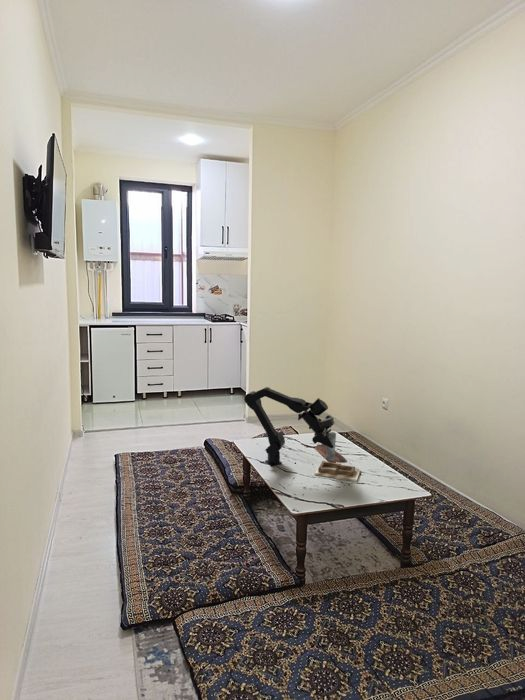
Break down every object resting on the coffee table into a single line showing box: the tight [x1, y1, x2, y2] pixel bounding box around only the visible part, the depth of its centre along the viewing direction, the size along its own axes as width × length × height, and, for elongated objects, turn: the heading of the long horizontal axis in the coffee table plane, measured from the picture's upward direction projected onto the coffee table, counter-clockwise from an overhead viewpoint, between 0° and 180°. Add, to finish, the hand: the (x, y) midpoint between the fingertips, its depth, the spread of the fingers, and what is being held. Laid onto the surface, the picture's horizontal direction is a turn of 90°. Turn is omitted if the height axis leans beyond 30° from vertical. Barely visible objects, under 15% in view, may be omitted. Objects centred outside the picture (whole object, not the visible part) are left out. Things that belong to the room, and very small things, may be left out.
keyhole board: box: [314, 460, 362, 483], centre depth 230 cm, size 20×13×3 cm, turn 71°
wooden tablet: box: [315, 443, 348, 463], centre depth 256 cm, size 26×2×10 cm
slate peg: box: [325, 431, 337, 461], centre depth 229 cm, size 4×4×13 cm
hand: (333, 446), depth 229 cm, fingers closed on slate peg, 4 cm apart
